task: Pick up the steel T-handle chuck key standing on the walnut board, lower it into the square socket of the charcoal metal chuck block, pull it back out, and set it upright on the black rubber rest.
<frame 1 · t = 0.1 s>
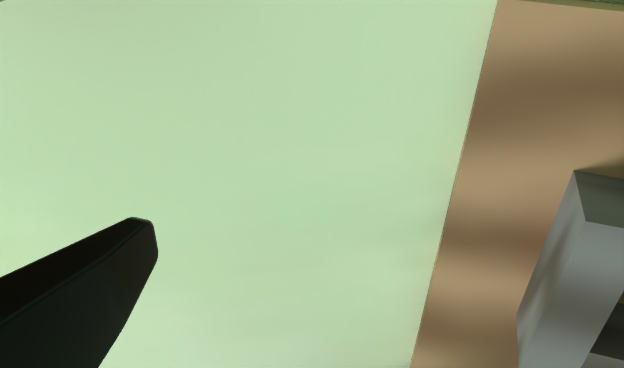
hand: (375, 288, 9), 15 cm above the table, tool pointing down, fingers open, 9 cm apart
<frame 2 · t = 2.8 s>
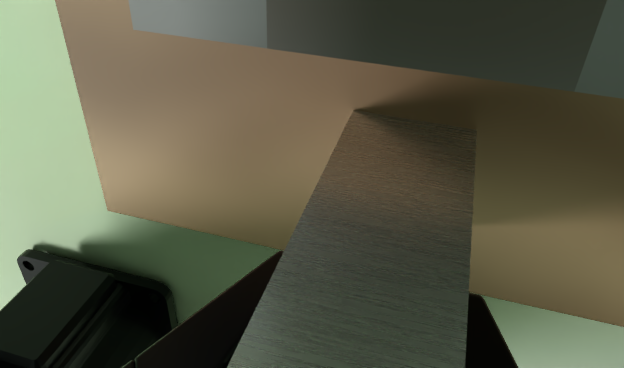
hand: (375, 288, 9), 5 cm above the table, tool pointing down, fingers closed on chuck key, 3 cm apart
chuck key: (404, 170, 12), point 1 cm above the table, touching chuck stand, gripper
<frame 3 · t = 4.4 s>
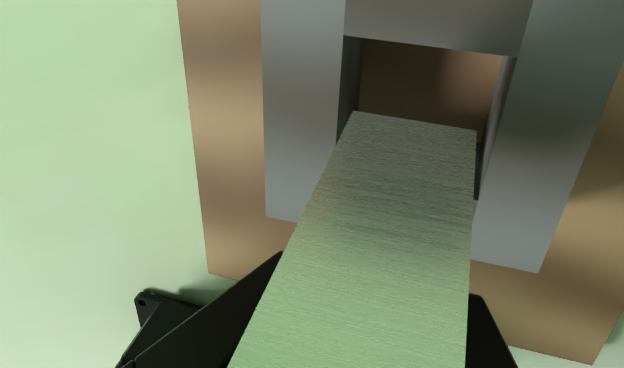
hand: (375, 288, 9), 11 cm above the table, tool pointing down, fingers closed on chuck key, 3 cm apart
chuck key: (404, 171, 12), point 7 cm above the table, touching gripper
chuck stand: (427, 77, 18), on the table
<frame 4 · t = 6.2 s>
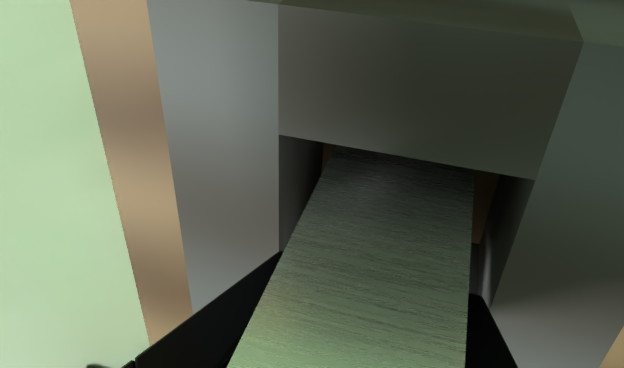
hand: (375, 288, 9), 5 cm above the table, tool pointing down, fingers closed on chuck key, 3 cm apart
chuck key: (404, 171, 12), point 1 cm above the table, touching gripper
chuck stand: (410, 156, 14), on the table
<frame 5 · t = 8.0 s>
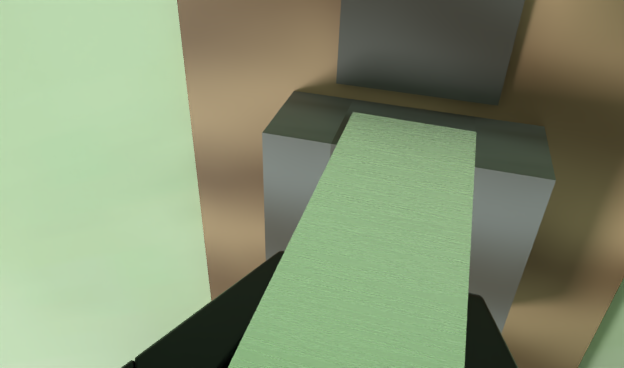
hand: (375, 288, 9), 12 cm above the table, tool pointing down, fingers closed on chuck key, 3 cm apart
chuck key: (404, 172, 12), point 8 cm above the table, touching gripper
chuck stand: (399, 203, 22), on the table
when the fingers open (7 cm above the table, at t = 9.6 s): chuck key drops 1 cm, resting on chuck stand.
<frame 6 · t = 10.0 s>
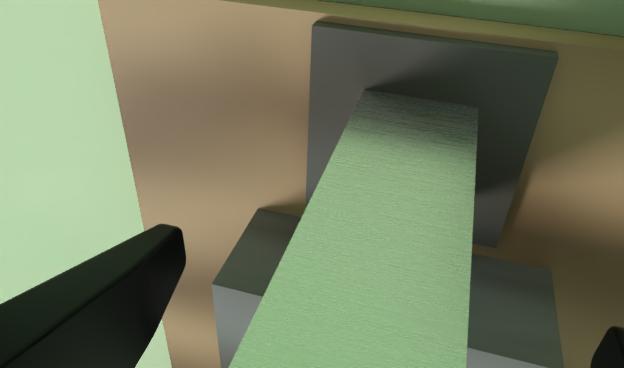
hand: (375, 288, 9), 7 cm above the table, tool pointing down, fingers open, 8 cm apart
chuck key: (411, 146, 13), point 1 cm above the table, touching chuck stand
chuck stand: (382, 320, 19), on the table
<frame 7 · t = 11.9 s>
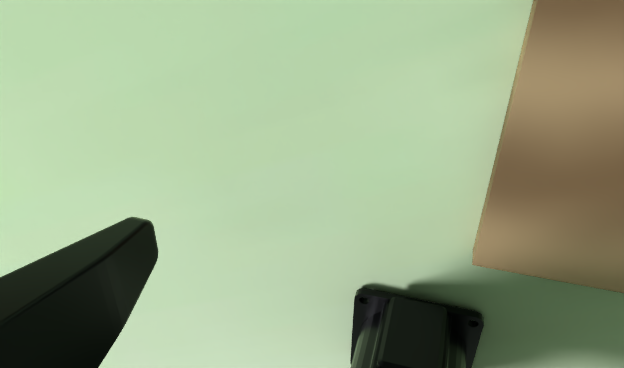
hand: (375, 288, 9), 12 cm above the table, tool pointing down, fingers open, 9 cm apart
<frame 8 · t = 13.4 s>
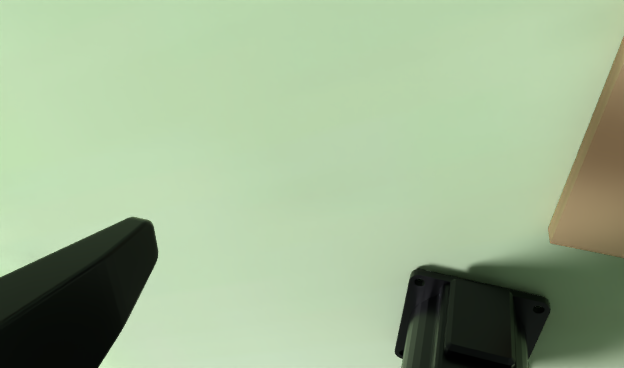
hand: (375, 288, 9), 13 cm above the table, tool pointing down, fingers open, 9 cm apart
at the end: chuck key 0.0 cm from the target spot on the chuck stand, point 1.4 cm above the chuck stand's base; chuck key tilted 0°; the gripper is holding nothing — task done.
